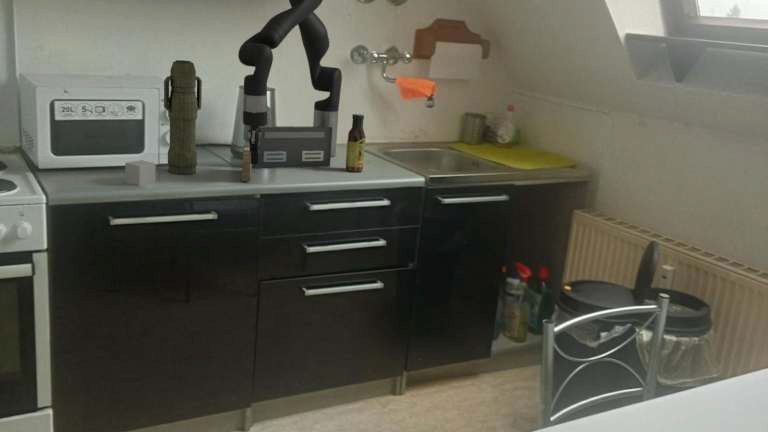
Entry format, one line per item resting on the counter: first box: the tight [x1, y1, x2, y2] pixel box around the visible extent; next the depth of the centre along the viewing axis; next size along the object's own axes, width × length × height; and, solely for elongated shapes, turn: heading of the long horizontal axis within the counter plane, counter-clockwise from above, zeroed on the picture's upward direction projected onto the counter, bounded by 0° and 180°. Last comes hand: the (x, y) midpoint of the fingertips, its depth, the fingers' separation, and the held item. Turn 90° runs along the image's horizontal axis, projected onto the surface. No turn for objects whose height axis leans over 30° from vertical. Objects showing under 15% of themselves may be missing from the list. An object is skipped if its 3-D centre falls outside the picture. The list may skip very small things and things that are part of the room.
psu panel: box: [252, 125, 332, 169], centre depth 255 cm, size 3×28×14 cm, turn 118°
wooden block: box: [241, 145, 253, 182], centre depth 236 cm, size 17×3×8 cm, turn 9°
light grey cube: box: [124, 159, 157, 187], centre depth 218 cm, size 6×6×6 cm
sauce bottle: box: [345, 113, 366, 173], centre depth 257 cm, size 7×6×20 cm
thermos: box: [163, 59, 203, 176], centre depth 231 cm, size 9×12×35 cm
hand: (254, 163), depth 233 cm, fingers closed
